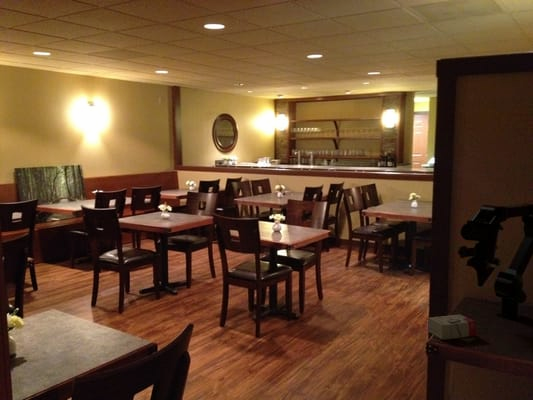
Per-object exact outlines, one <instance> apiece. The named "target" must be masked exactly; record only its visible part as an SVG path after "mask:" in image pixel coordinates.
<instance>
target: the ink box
mask: <svg viewBox="0 0 533 400" xmlns="http://www.w3.org/2000/svg"><path fill="white" fill-rule="evenodd" d="M427 320H428V321H427V322H428V323H427V324H428V325H427V326H428V327H427V328H428V332H429V333H430V334H432V336H433V335H434V336H435V337H437V338H438V339H440V340H443V341H444V340H453V339H457V338H461V337H469V336H471V337H475V336H477V325H476V324H477V323H476V320H473V319H471V318H468V317H467V316H465V315H462V314H452V315H443V316H433V317H428V319H427Z"/></svg>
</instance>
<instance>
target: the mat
mask: <svg viewBox="0 0 533 400" xmlns="http://www.w3.org/2000/svg"><path fill="white" fill-rule="evenodd" d="M456 339H458V340H460V341H463V342H465V343H471V342H474V341H476V340H477V338H476V337H475V336H469V337H461V338H456Z"/></svg>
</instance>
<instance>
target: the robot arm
mask: <svg viewBox="0 0 533 400" xmlns="http://www.w3.org/2000/svg"><path fill="white" fill-rule="evenodd" d="M519 217H521V221H522V223H523V228H522V230H523V233H524V236H523V237H522V239H521V242H520V244H519V245H518V248H517V250H516V252H515V254H514V256H513V258H512V259H511V262H510V263H509V266H508V268H507V269H506V270H505V271H501V270H500V271H499V272H498V274H497V275H496V278H495V279H494V284H493V289H494V293H495V297H497V298H501V301H500V303H501V305H500V311H499V312H496V315H497V316H500V317H504V318H506V319H511V320H517V319H520V318H521V317H523V316H524V315H523V314H521V313H520V304H524V303H525V302H526V301H527V297H528V296H527V294H526V293H525V291H524V289H523V287H524V280H523V275H524V273H525V271H526V269H527V267H528V265H529V263H530V261H531V259H532V257H533V203H525V202H524V203H520V204H513V205H503V206H501V205H491V204H483V205H481V208H480V209H478V212H477V213H476V214H475V216H474V217H472V219H467V222H466V223H463V225H462V227H461V228H460V236H461V238H462V239H464V240H465V241H472V242H473V241H474V242H476V243H475V244H474V246H473V247H468V246H467V245H461V246H460V247H459V249H458V251H457V255H459V258H460V259H464V258H468V259H466V266H467V267H471V268H473V269H474V270H475V271H476V278H477V286H478V287H480V288H482V287H484V284H485V283H486V281H488V279H489V277H490V276H491V275H492V273H493V272H494V270H496V268H495V267H494V266H492V265H495V266H496V267H499V266H501V259H500V258H499V257H497V256H496V250H498V247H499V246H498V245H497V243H498V239H499V237H498V236H499V231H503V230H504V227H503V226H502V225H501V224H502V223H503V222H506V221H507V220H508V219H509V218H510V219H511V218H519Z"/></svg>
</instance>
